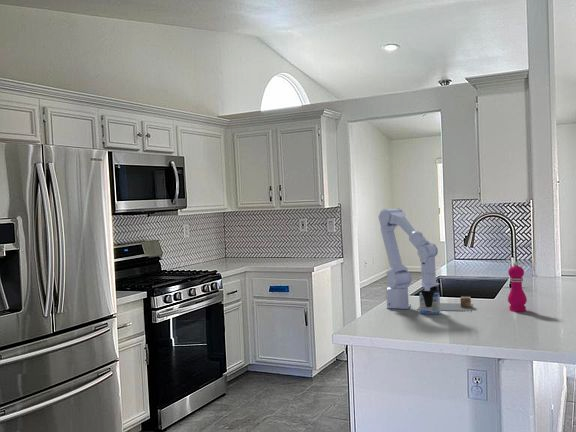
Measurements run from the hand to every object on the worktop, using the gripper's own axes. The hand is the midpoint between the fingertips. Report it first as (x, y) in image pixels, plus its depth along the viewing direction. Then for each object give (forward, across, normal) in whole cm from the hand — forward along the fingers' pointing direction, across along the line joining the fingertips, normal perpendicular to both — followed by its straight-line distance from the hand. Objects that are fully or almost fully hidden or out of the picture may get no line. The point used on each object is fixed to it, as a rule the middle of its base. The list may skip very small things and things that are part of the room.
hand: (429, 305), depth 221 cm
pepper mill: (+4, +11, -34) cm, 36 cm away
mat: (+3, +13, -5) cm, 14 cm away
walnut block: (+3, +14, -14) cm, 20 cm away
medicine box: (+4, 0, 0) cm, 4 cm away
